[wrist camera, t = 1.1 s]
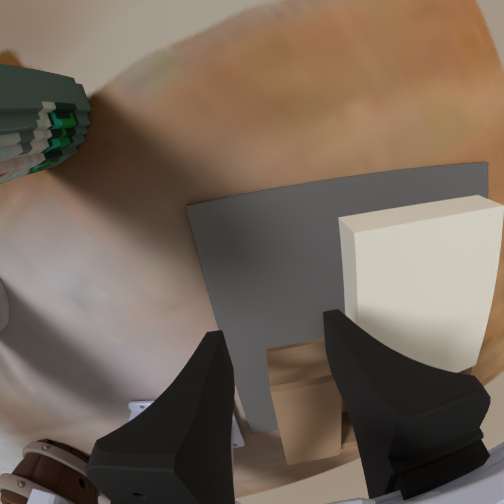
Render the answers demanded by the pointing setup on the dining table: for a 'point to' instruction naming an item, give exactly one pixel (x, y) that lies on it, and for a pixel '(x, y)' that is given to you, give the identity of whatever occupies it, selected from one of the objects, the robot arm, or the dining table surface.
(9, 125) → the can
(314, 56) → the dining table surface
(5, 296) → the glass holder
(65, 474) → the flowerpot
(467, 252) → the lid
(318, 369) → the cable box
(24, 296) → the dining table surface
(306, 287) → the desk mat
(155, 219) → the dining table surface
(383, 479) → the robot arm
